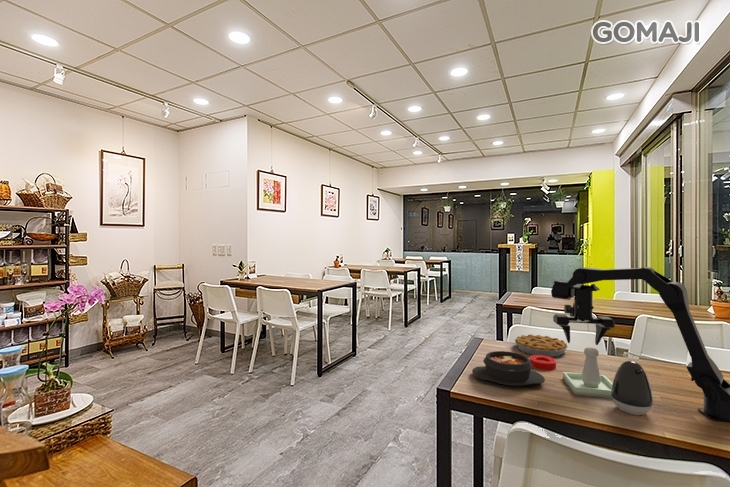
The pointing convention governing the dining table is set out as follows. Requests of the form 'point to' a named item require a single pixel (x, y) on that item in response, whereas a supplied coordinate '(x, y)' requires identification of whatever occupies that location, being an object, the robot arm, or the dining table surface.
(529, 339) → the pie
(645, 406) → the dark grey egg shape
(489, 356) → the casserole
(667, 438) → the dining table surface
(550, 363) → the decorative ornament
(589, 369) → the salt shaker
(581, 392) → the tray
